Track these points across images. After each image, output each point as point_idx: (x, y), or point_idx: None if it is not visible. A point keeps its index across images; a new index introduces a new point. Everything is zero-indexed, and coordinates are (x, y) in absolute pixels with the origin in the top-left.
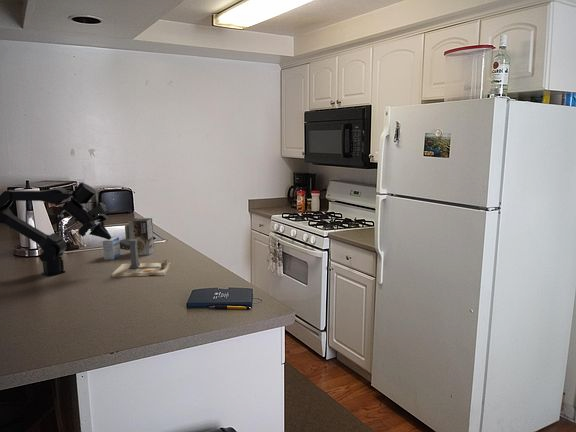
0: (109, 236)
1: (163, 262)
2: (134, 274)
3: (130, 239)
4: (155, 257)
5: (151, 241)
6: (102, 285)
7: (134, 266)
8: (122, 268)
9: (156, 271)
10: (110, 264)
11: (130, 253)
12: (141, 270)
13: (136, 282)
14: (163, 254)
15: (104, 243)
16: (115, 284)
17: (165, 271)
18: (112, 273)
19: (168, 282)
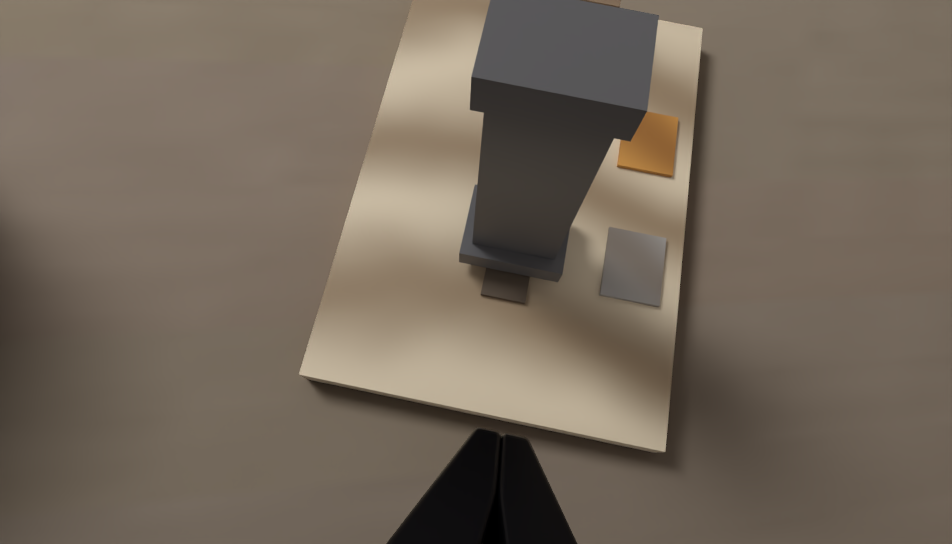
0: (539, 474)
1: None
2: (677, 248)
3: (525, 85)
4: (81, 94)
5: None
6: (920, 518)
7: (567, 233)
8: (488, 360)
9: (667, 79)
10: (145, 523)
11: (582, 202)
12: (610, 188)
13: (853, 234)
14: (3, 30)
15: None
16: (897, 399)
17: (660, 24)
18: (654, 447)
19: (872, 31)
